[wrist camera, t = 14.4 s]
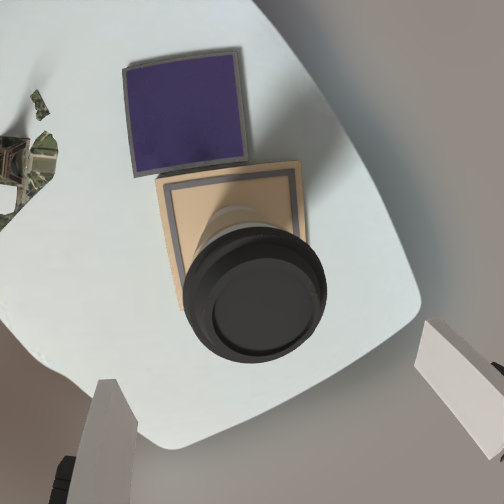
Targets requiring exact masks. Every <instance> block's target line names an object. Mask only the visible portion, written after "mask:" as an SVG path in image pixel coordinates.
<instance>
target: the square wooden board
mask: <svg viewBox="0 0 504 504" xmlns="http://www.w3.org/2000/svg"><path fill="white" fill-rule="evenodd" d="M155 184H156V190H157V197H158V203H159V209H160V214H161V220H162V226H163V231H164V236H165V242H166V247H167V252H168V257H169V262H170V267H171V271H172V276H173V281H174V285H175V290H176V294H177V298H178V303H179V307H180V311H182V310H184V307H183V296H182V294H183V285H184V281H185V277H186V274H187V272H188V270H189V267H190V264H191V261H192V258H193V256H194V253H195V250H196V248H197V245H198V242H199V240H200V237H201V235H202V233H203V231H204V229H205V226H206V224H207V222H208V221H209V219H210V218H211V217H212V216H213V215H214V214H215V213H216V212H218V211H219V210H221V209H223V208H225V207H228V206H233V205H242V206H247V207H250V208H252V209H254V210H256V211H257V212H259V213H262V214H263V215H265V216H267V217H268V218H270V219H271V220H273V221H274V222H275V223H277V224H278V225H280V226H281V227H283V228H284V229H285V230H287V231H288V232H290V233H292V234H294V235H295V236H297V237H299V238H300V239H302V240H303V241H304V242H306V237H305V218H304V202H303V188H302V174H301V162H300V161H299V160H295V161H284V162H273V163H263V164H254V165H245V166H236V167H228V168H221V169H213V170H206V171H199V172H192V173H186V174H179V175H173V176H167V177H161V178H156V179H155Z"/></svg>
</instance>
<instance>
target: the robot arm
mask: <svg viewBox="0 0 504 504" xmlns="http://www.w3.org/2000/svg"><path fill="white" fill-rule="evenodd" d="M414 366H415V368H416V369H417V370H418V371H419V372H420V373H421V375H422V376H423V377H424V378H425V379H426V381H427V382H428V383H429V384H430V385H431V387H432V388H433V389H434V390H435V392H436V393H437V394H438V395H439V396H440V398H441V399H442V400H443V401H444V403H445V404H446V405H447V406H448V408H449V409H450V410H451V411H452V412H453V413H454V415H455V416H456V417H457V419H458V420H459V421H460V423H461V424H462V425H463V426H464V428H465V429H466V430H467V431H468V433H469V434H470V435H471V437H472V438H473V439H474V441H475V442H476V443H477V444H478V446H479V447H480V448H481V450H482V451H483V452H484V454H485V455H486V456H487V458H488V459H489V460H490V459H492V458H493V457H494V456H496V455H497V454H498V453H499V452H501V451H502V449H503V448H504V367H503V366H501V365H499V364H497V363H495V362H493V363H491V364H490V363H489V362H488V361H487V360H486V359H485V358H484V357H483V356H482V355H481V354H480V353H479V352H478V351H476V350H475V349H474V348H473V347H472V346H471V345H470V344H469V343H468V342H467V341H465V340H464V339H463V338H462V337H461V336H460V335H459V334H458V333H457V332H456V331H454V330H453V329H452V328H451V327H450V326H449V325H447V324H446V323H445V322H444V321H443V320H442V319H441V318H440V317H438V316H436V317H433V318H430V319H427V320H425V324H424V329H423V333H422V337H421V341H420V346H419V350H418V354H417V358H416V361H415V365H414ZM137 426H138V421H137V420H136V418H135V416H134V414H133V412H132V410H131V409H130V407H129V405H128V403H127V401H126V399H125V397H124V395H123V393H122V391H121V389H120V387H119V385H118V383H117V381H116V379H106V380H99V381H98V384H97V387H96V390H95V393H94V396H93V400H92V403H91V406H90V410H89V413H88V416H87V420H86V423H85V427H84V430H83V434H82V438H81V442H80V446H79V449H78V453H77V457H73V456H65V457H64V458H63V460H62V461H61V462H60V464H59V465H58V467H57V472H56V475H55V480H54V483H53V489H52V492H51V496H50V500H49V504H129V501H130V489H131V477H132V468H133V458H134V450H135V441H136V433H137ZM503 460H504V454H503V456H502V457H501V460H500V462H502V461H503Z"/></svg>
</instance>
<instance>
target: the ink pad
mask: <svg viewBox="0 0 504 504" xmlns="http://www.w3.org/2000/svg"><path fill="white" fill-rule="evenodd" d="M122 76H123V90H124V101H125V112H126V122H127V131H128V139H129V147H130V154H131V162H132V168H133V175H134V178H136V177H142V176H147V175H153V174H158V173H164V172H170V171H176V170H182V169H189V168H195V167H202V166H209V165H216V164H224V163H232V162H240V161H249V157H248V147H247V138H246V129H245V120H244V111H243V101H242V92H241V83H240V74H239V66H238V57H237V51H232V52H220V53H211V54H202V55H194V56H187V57H180V58H174V59H168V60H162V61H157V62H152V63H147V64H142V65H137V66H133V67H128V68H124V69H122Z"/></svg>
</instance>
